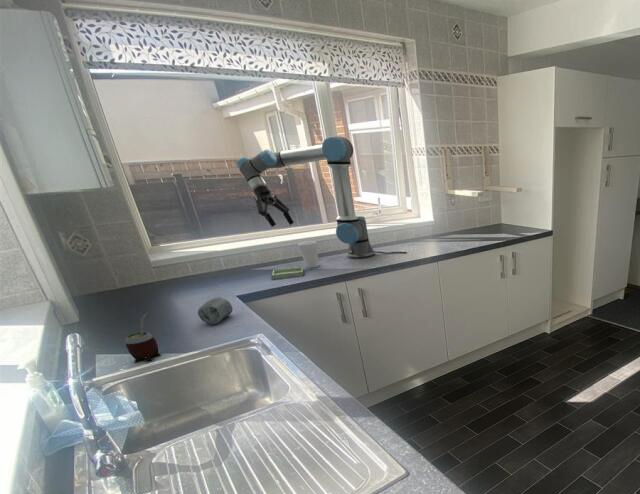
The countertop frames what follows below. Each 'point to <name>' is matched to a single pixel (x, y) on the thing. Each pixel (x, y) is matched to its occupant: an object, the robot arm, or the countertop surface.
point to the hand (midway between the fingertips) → (283, 224)
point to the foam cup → (309, 253)
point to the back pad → (287, 273)
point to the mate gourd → (142, 344)
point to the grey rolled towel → (215, 310)
